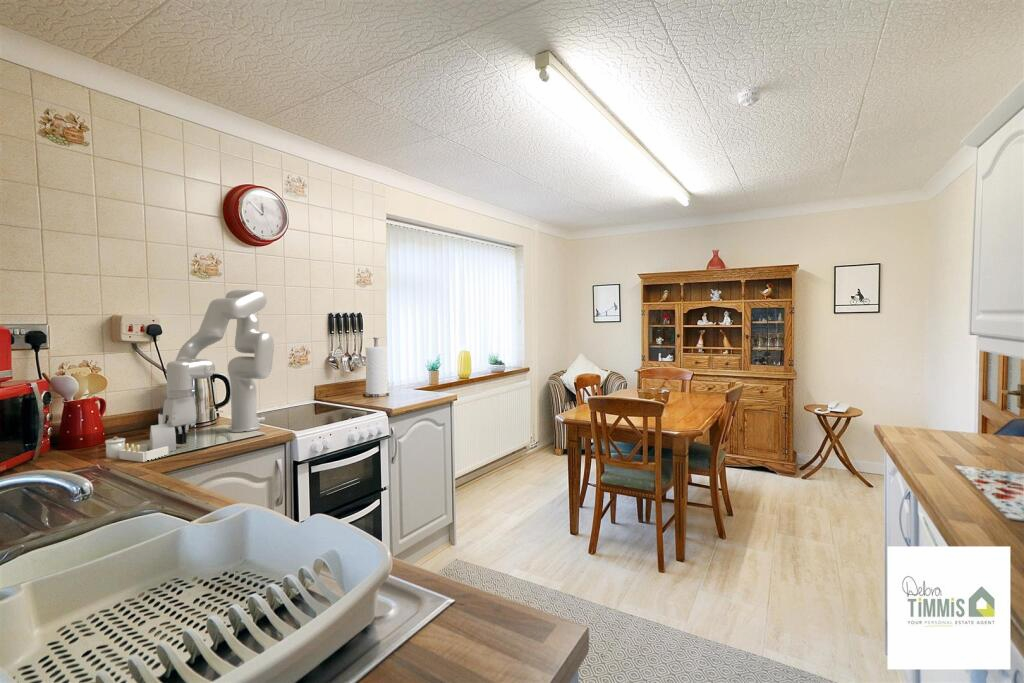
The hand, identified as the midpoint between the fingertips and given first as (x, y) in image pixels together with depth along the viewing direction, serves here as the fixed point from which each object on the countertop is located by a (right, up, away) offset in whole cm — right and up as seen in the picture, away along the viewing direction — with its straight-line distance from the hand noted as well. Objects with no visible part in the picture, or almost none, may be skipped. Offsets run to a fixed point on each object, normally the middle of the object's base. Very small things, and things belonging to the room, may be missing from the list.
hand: (181, 443), depth 174 cm
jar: (-16, -1, +17) cm, 23 cm away
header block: (-4, -2, -12) cm, 13 cm away
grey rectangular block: (-2, -2, -6) cm, 7 cm away
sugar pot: (-15, -2, -11) cm, 19 cm away
